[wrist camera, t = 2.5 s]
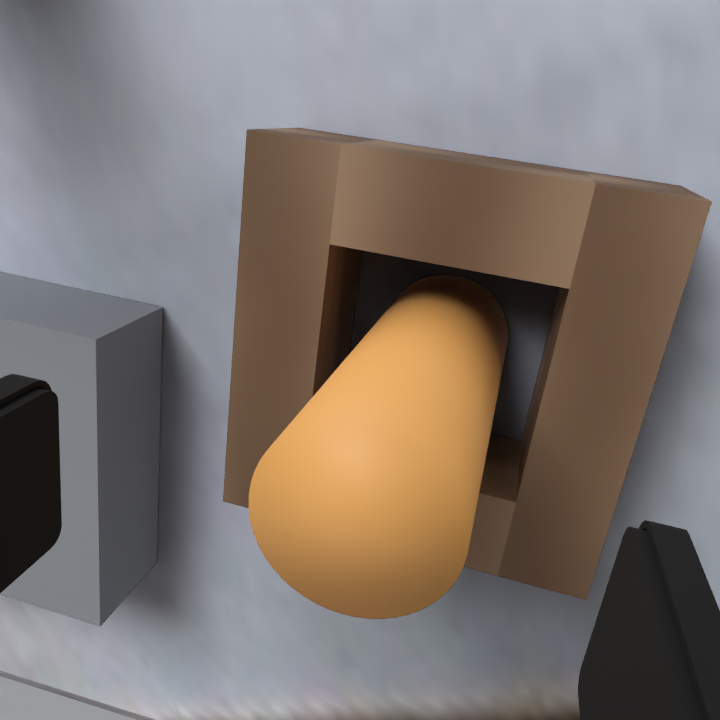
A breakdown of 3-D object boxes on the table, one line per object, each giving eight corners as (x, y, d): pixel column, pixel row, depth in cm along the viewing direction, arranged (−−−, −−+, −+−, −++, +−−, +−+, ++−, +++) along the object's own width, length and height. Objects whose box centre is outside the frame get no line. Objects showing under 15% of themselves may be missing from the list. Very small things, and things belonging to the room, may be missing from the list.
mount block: (680, 186, 17) (711, 201, 13) (580, 524, 20) (586, 599, 17) (298, 127, 19) (246, 129, 15) (269, 446, 22) (222, 501, 19)
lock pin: (519, 287, 18) (491, 451, 9) (494, 402, 20) (446, 645, 11) (395, 264, 19) (256, 395, 10) (378, 377, 20) (241, 584, 11)
